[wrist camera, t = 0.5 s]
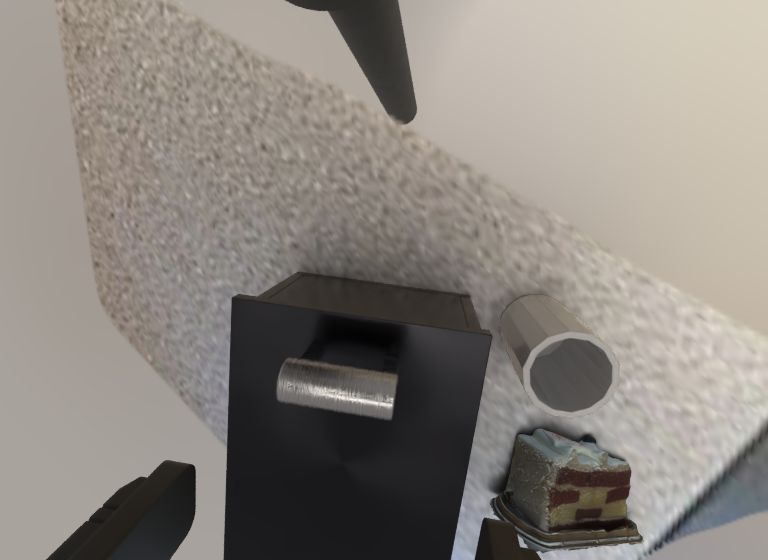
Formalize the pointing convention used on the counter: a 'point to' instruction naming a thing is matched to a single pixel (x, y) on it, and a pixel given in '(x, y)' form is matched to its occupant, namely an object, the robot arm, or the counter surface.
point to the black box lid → (347, 432)
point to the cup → (558, 357)
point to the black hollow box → (376, 299)
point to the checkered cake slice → (566, 494)
